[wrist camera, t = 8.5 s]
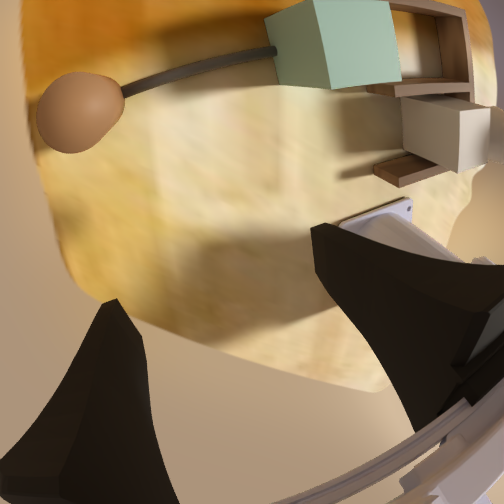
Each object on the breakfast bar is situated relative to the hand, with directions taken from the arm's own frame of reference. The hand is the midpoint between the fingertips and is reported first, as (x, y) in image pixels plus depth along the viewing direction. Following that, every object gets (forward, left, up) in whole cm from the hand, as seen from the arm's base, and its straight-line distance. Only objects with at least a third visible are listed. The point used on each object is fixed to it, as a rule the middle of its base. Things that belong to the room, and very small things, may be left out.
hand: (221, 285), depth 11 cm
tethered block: (+7, -3, -10) cm, 13 cm away
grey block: (+1, -19, -10) cm, 22 cm away
